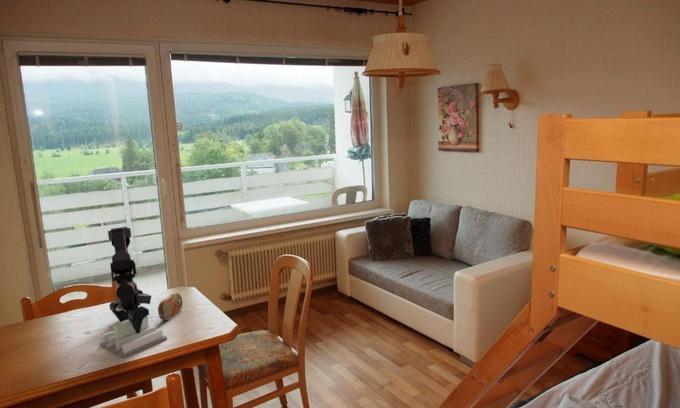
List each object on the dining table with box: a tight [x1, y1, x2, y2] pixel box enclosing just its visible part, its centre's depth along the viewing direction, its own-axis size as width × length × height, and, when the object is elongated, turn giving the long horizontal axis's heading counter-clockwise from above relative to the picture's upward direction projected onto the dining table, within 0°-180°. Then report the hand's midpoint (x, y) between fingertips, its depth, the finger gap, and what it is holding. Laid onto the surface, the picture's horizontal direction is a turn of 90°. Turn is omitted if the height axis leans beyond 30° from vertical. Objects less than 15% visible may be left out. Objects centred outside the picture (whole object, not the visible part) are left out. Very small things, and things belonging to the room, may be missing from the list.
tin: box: [157, 293, 183, 321], centre depth 201 cm, size 15×3×8 cm, turn 168°
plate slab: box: [112, 316, 150, 341], centre depth 178 cm, size 2×12×8 cm, turn 141°
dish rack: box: [99, 325, 168, 359], centre depth 179 cm, size 18×17×4 cm
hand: (132, 330), depth 178 cm, fingers open, 9 cm apart
